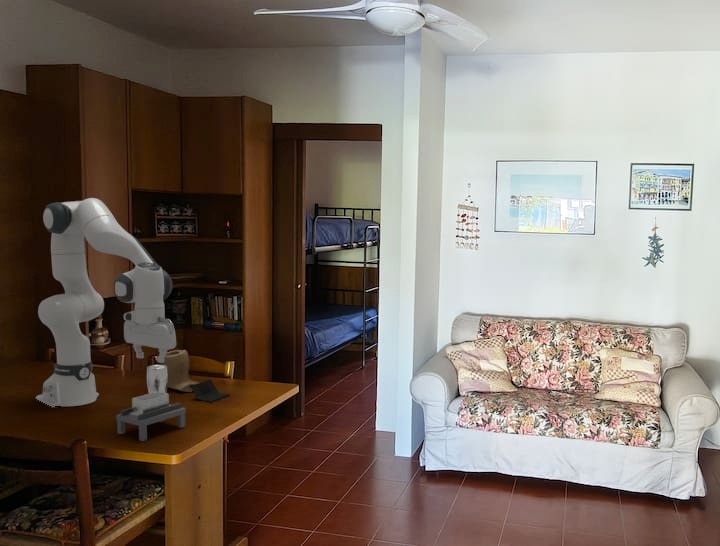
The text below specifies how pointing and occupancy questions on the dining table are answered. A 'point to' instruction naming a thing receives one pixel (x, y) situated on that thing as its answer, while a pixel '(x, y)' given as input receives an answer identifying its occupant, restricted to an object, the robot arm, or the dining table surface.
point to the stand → (150, 418)
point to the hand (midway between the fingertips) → (150, 360)
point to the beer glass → (157, 378)
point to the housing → (149, 403)
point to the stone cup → (178, 370)
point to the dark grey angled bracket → (207, 392)
